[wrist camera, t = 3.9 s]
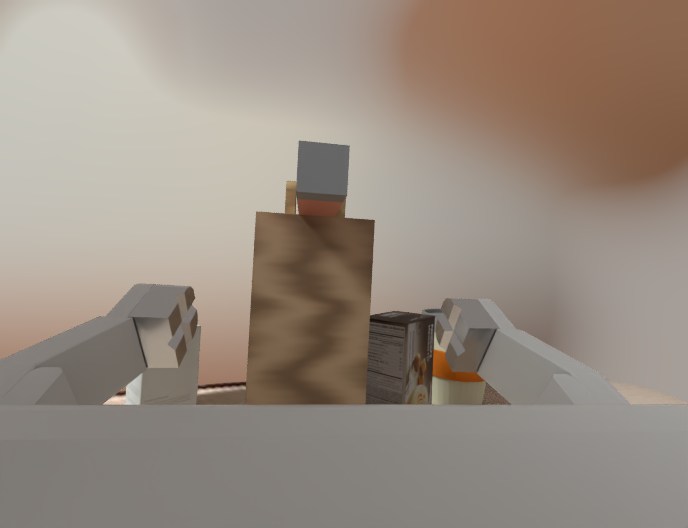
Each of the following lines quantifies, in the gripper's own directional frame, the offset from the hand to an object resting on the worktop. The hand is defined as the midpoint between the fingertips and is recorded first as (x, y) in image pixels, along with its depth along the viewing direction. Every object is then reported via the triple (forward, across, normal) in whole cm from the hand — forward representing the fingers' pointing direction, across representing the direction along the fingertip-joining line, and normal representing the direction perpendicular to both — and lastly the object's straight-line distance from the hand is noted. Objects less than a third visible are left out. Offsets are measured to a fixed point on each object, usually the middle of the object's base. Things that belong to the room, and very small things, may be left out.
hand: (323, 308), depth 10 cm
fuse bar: (+18, 0, +4) cm, 18 cm away
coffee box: (+15, -12, +32) cm, 38 cm away
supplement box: (+22, +20, +36) cm, 47 cm away
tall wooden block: (+8, 0, +28) cm, 29 cm away
